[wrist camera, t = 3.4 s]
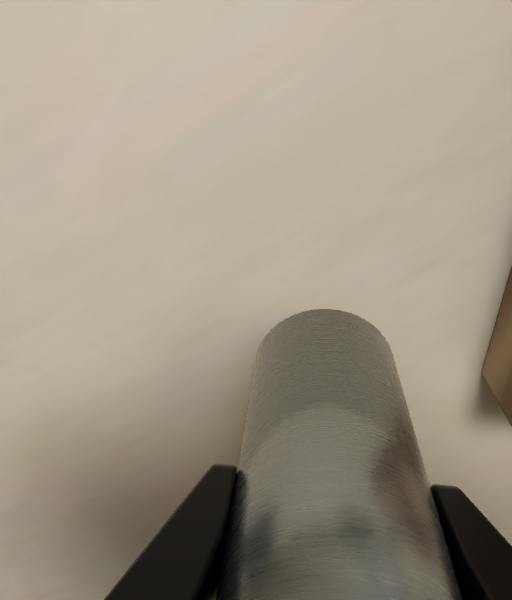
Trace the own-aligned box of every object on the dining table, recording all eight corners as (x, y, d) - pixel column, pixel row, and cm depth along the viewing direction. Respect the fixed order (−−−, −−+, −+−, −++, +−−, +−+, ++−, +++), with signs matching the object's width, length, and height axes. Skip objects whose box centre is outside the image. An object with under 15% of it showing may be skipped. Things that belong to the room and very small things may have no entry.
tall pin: (382, 429, 12) (599, 1494, 3) (253, 417, 12) (111, 1382, 3) (405, 314, 11) (918, 1683, 2) (257, 304, 11) (26, 1459, 2)
